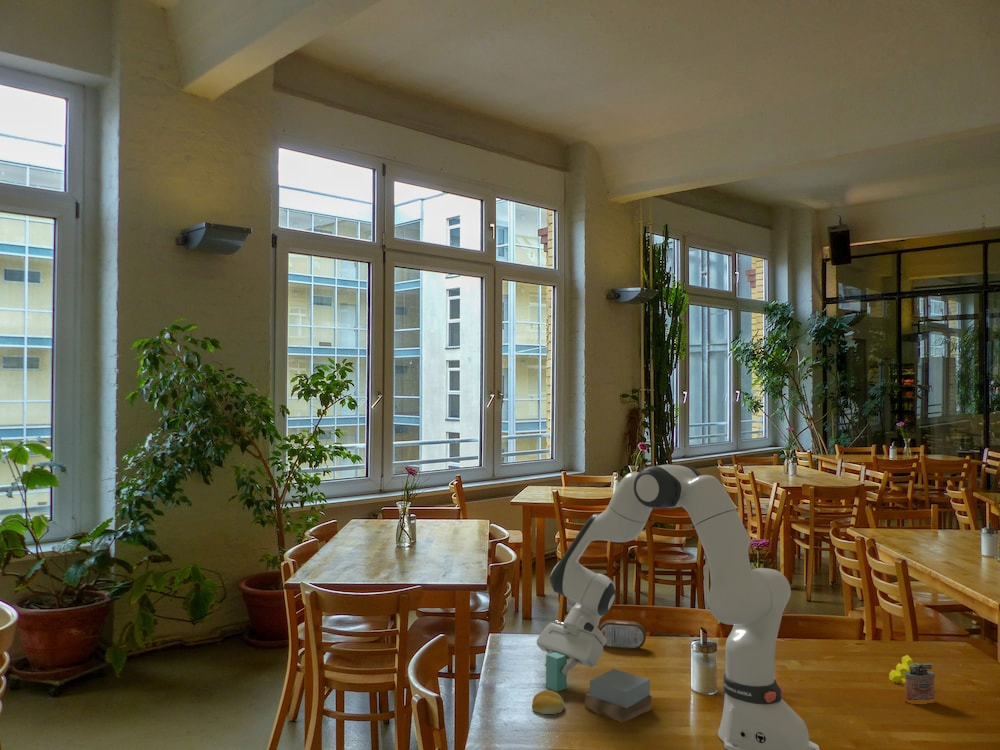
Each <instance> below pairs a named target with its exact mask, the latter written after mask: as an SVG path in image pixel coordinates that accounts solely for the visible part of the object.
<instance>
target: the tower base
mask: <svg viewBox="0 0 1000 750" xmlns="http://www.w3.org/2000/svg"><path fill="white" fill-rule="evenodd" d="M584 708H585V709H586V708H587V710H589V709H590V711H591V710H592V711H591V712H594V713H597V714H599V715H601V714H602V716H604V717H606V718H608V717H609V718H608V719H611V720H613V719H614V721H616V720H617V721H616V722H618V721H619V723H621V722H622V724H623V723H625V721H626V722H627V720H628V721H630V720H632V719H635V718H637V717H638V715H639V716H641V715H642V713H643V714H645V713H647V712H649V711H652V695H651V694H650V695H649V696H647V697H646V698H644V699H642V700H640V701H639V702H637V703H635V704H633V705H632V706H630V707H628V708H624V707H621V706H618V705H615V704H612V703H609V702H606V701H603V700H600V699H597V698H594V697H591V696H590V692H588V693H585V694H584ZM648 710H649V711H648ZM644 712H645V713H644ZM640 714H641V715H640ZM631 718H632V719H631ZM629 719H630V720H629Z"/></svg>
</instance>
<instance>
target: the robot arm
mask: <svg viewBox="0 0 1000 750" xmlns="http://www.w3.org/2000/svg"><path fill="white" fill-rule="evenodd" d="M680 507H682V508H683V509H684V510H685V511H686V512H687V513H688V516H689V518H690V520H691V523H692V525H693V527H694V529H695V532H696V534H697V536H698V538H699V541H700V544H701V546H702V548H703V551H704V553H705V556H706V559H707V563H708V569H709V575H710V588H709V591H708V594H707V605H708V608H709V611H710V612H711V614H712V615H713V617H714V618H715V619H716V620H717V621H718V622H720V623H721V624H724V625H730V626H731V625H733V626H732V630H731V631H730V633H729V635H728V637H727V638H726V641H725V672H724V674H723V681H722V682H723V683H722V684H723V688H722V690H723V696H724V699H723V700H724V701H723V709H722V714H721V715H722V716H721V720H720V725H719V728H718V731H717V736H718V737H719V739H720V740H721V741H722V742H723V746H724V749H726V750H820V747H819V745H818V744H817V743H815V742H813V741H811V740H810V737H809V736H810V735H809V730H808V727H807V724H806V722H805V721H804V720H803V718H801V716H800V715H798V713H796V712H795V710H793V708H792V707H791V706H790V705H789V704H788V703H787V702H786V701H785V700H784V699H783V698H782V697H783V696H782V693H783V692H785V691H786V690H785V688H786V686H785V685H783V686H782V687H780V686H779V685H778V683H777V680H776V679H775V665H776V663H775V659H776V647H777V646H776V645H777V639H778V635H779V631H780V626H781V622H782V617H783V615H784V610H785V609H786V606H787V605H788V602H789V601H790V598H791V596H792V589H791V585H790V582H789V580H788V579H787V577H786V576H785V575H784V574H783V573H782V572H781V571H779V570H777V569H773V568H768V567H767V568H766V567H756V568H754V569H752V566H751V562H750V554H749V548H750V546H751V539H750V536H749V534H748V532H747V529H746V528H745V525H744V523H743V521H742V519H741V517H740V515H739V513H738V510H737V508H736V506H735V504H734V503H733V501H732V499H731V497H730V495H729V493H728V492H727V490H726V488H725V487H724V485H722V483H721V482H720V480H719V479H718V478H717V477H715V476H713V475H710V474H701V473H700V472H699V471H698V470H697V469H696V468H694V467H692V466H690V465H685V464H661V465H660V464H659V465H651V466H649V467H646V468H644V469H642V470H641V471H640V472H639V471H634V472H633V471H632V472H629V473H627V474H625V475H624V477H623V478H622V479H621V480H620V481H619V483H618V485H617V487H616V488H615V490H614V492H613V494H612V495H611V499H610V500H609V503H608V505H607V507H606V508H605V510H603V511H602V512H601V513H594V514H592V515H591V516H590V517H589V518H588V519H587V521H586V522H585V523H584V524H583V526H582V527H581V529H580V530H579V532H578V533H577V535H576V536H575V537H574V540H573V541H572V542H571V544H570V545H569V546H568V549H566V551H565V553H564V555H563V556H562V557H561V559H560V560H559V561H558V562H557V563H556V564H555V566H554V567H553V569H552V571H551V573H550V576H549V583H550V585H551V589H552V590H553V592H554V593H557V594H559V595H561V596H564V597H566V598H568V599H570V600H571V601H573V602H575V604H574V606H572V607H571V608H570V610H569V612H568V614H567V615H566V617H565V619H564V621H559V620H554V621H551V622H549V623H548V624H547V626H545V627H544V629H543V630H542V632H541V633H540V634H539V635H538V636H537V639H536V645H537V647H538V648H539V649H540V650H541V651H543V652H546V653H547V654H550V653H553V652H558V653H561V654H564V655H567V664H566V665H564V666H563V665H562V666H561V668H560V670H559V672H560V673H561V674H564V675H566V674H567V675H568V673H569V671H570V670H572V669H573V668H574V667H576V665H577V664H580V665H582V666H586V667H588V668H594V667H595V666H596V665H597V664H598V662H599V660H600V658H601V656H602V653H603V650H604V646H605V644H606V642H607V639H606V638H605V636H604V635H603V634H602V632H601V631H600V630H599V626H600V620H601V618H602V617H604V616H605V615H607V614H609V612H610V610H611V608H612V606H613V605H614V602H615V601H616V599H617V591H616V584H615V582H614V581H613V580H612V579H611V578H610V577H608V575H605V574H603V573H596V572H594V571H593V570H590V569H588V568H587V567H585V566H584V565H582V564H581V563H580V562H579V560H580V558H581V557H582V555H583V553H584V552H585V551H586V549H587V548H588V546H589V545H590V543H591V542H594V541H605V542H606V541H607V542H612V543H627V542H630V541H634V540H635V539H637V538H638V537H639V536H640V534H641V533H642V532H643V530H644V529H645V526H646V524H647V522H648V519H649V517H650V515H651V513H652V511H653V509H659V510H660V509H674V508H680ZM547 654H546V655H547ZM544 667H545V668H546V662H545V663H544Z"/></svg>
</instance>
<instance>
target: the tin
mask: <svg viewBox="0 0 1000 750" xmlns="http://www.w3.org/2000/svg"><path fill="white" fill-rule="evenodd" d="M598 629H599V630H600V631H601V632H602V634H603V635H604V636H605V638H606V639H607V642H606V644H605V645H604V646H605V647H607V648H611V649H625V650H627V649H628V650H638V649H640V648H641V647H642V646H644V644H645V642H646V638H647V632H646V629H645V627H644V626H643V625H642V624H641V623H639V622H638V621H633V620H619V619H605V620H604V621H603V622H601V624H599V625H598Z"/></svg>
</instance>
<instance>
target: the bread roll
mask: <svg viewBox="0 0 1000 750" xmlns="http://www.w3.org/2000/svg"><path fill="white" fill-rule="evenodd" d="M531 709H532V710H533V712H535V713H537V712H538V713H537V714H540V713H541V714H540V715H543V714H554V715H557V713H558V714H560V713H562V712H564V711H563V710H564V709H565V702H564V699H563V697H562V696H561V695H560V693H558V692H555V691H553V690H550V689H548V690H546V689H544V690H541V691H539V692H538V693H536V694H535V695H534V696H533V698H532V704H531Z"/></svg>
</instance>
